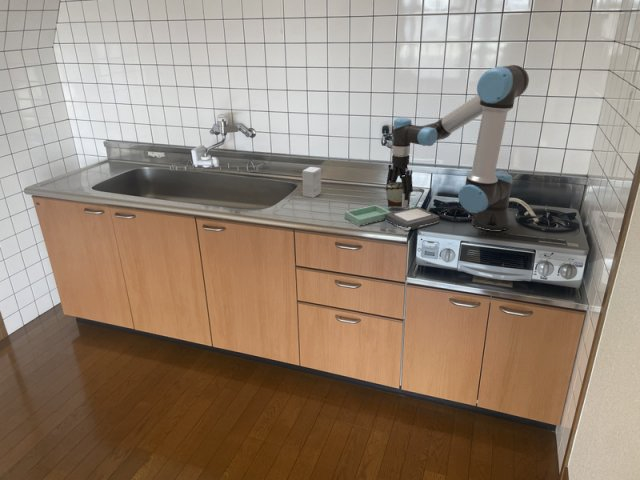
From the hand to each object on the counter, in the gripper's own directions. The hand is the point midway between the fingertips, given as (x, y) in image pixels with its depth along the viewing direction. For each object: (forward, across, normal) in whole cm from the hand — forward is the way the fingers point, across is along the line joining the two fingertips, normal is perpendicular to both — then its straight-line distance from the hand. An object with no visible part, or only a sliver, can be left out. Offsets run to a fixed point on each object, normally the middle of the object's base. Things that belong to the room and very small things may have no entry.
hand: (398, 203), depth 225 cm
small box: (+2, +39, +23) cm, 45 cm away
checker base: (+3, -14, +4) cm, 15 cm away
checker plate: (+1, -14, +4) cm, 15 cm away
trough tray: (+3, -1, +18) cm, 18 cm away
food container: (+1, +1, -1) cm, 2 cm away
